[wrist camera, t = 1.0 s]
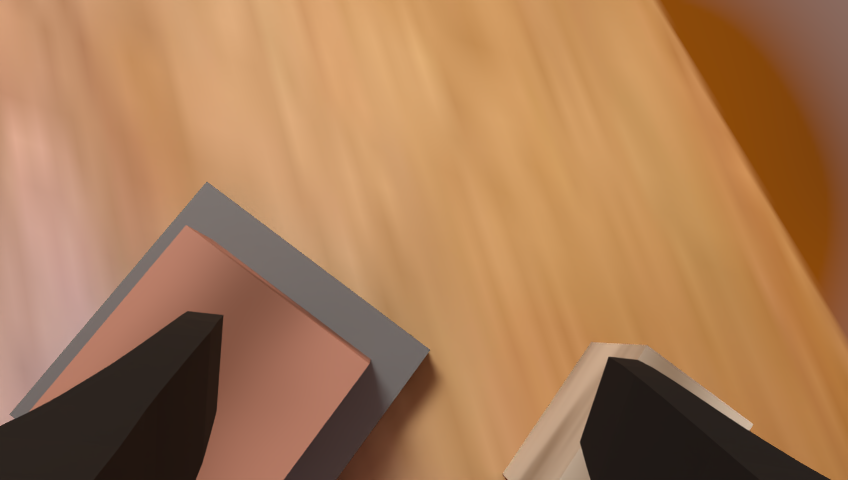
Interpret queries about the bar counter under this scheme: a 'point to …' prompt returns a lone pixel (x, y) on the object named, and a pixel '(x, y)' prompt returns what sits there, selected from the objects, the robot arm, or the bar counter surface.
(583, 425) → the ash brick
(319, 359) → the terracotta brick
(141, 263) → the base plate
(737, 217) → the bar counter surface
